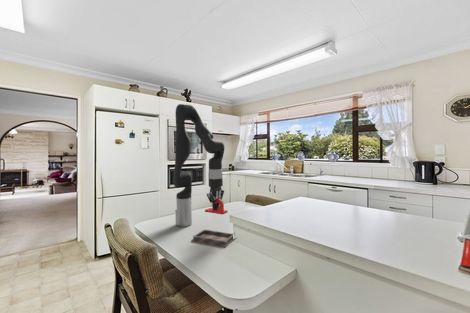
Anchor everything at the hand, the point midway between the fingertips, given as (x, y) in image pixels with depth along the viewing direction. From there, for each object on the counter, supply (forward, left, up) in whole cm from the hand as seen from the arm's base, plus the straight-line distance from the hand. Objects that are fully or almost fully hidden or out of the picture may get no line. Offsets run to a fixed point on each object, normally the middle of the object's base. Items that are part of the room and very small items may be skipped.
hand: (216, 209), depth 119 cm
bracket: (-1, +2, -2) cm, 3 cm away
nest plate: (0, -2, -15) cm, 15 cm away
